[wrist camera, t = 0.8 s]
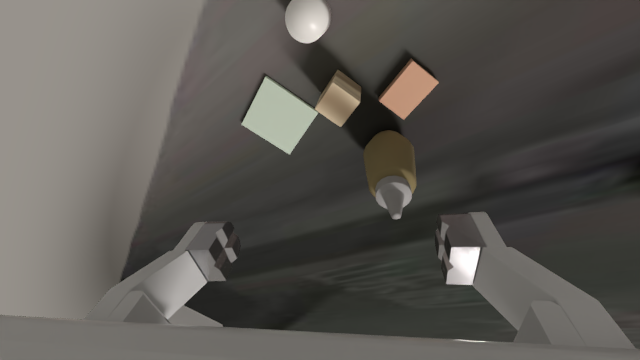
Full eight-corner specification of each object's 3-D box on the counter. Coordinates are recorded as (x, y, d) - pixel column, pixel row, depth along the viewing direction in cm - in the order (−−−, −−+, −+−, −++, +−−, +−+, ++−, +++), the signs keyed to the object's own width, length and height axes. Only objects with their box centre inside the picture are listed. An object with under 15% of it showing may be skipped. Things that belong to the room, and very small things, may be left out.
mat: (266, 75, 42) (265, 76, 42) (318, 111, 44) (318, 112, 44) (242, 123, 48) (241, 124, 47) (290, 152, 50) (289, 154, 49)
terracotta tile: (410, 57, 38) (412, 60, 37) (436, 78, 39) (439, 82, 38) (378, 96, 42) (378, 101, 40) (402, 114, 43) (403, 119, 42)
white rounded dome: (307, -15, 35) (298, -16, 30) (338, 10, 36) (334, 13, 31) (289, 22, 37) (278, 26, 33) (318, 44, 39) (311, 51, 34)
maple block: (337, 69, 40) (332, 82, 35) (361, 87, 41) (360, 102, 36) (321, 93, 43) (314, 109, 37) (344, 109, 44) (340, 127, 38)
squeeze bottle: (377, 115, 43) (382, 178, 29) (420, 134, 44) (447, 205, 30) (355, 154, 48) (350, 225, 34) (395, 171, 49) (407, 247, 34)
